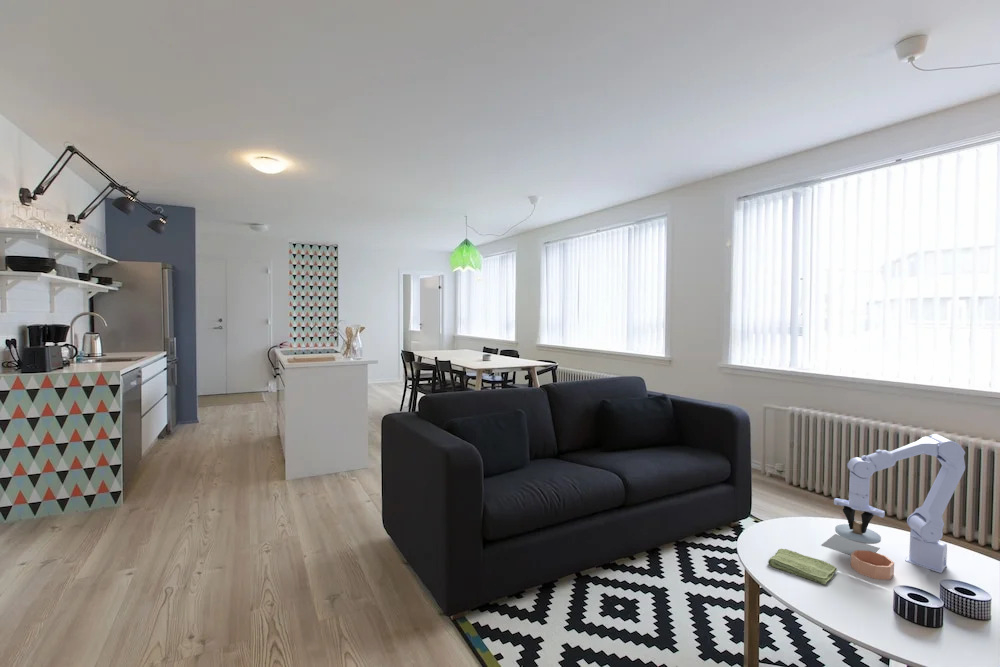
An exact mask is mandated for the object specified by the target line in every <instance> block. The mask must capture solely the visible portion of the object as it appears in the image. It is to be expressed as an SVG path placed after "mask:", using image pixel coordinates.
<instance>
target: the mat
mask: <svg viewBox="0 0 1000 667" xmlns="http://www.w3.org/2000/svg"><path fill="white" fill-rule="evenodd" d="M821 546H822V547H825V548H828V549H831V550H834V551H837V552H839V553H843V554H845V555H849V556H851V554H852V553H853V552H854V551H855V550H867V551H872V552H875V553H877V552H878V551H879V550H880V549H881V548H880V547H878V546H876V545H875V546H874V545H873V544H865V543H859V542H855V541H851V540H849V539H846V538H844V537H842V536H840V535H839V534H837V533H834V534H833V535H832V536H830V537H829V538H828V539H827V540H826V541H824V542H823V543H822V544H821Z"/></svg>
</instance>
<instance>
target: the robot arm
mask: <svg viewBox="0 0 1000 667" xmlns="http://www.w3.org/2000/svg"><path fill="white" fill-rule="evenodd" d="M919 455H920V456H921V455H928V456H932V457H935V458H936V459H937V460H938V461H939V464H941V467H940V469H939V471H938V473H937V475H936V477H935V479H934V481H933V484H932V486H931V488H930V490H929V491H928V493H927V496H926V498H925V499H924V502H923V504H922V505H921V506H920V507H917V508H915V509H914V511H913V512H912V513H911V514H910V515H909V516H908V517H907V519H906V524H907V527H908V528H910V531H909V532H910V534H909V553H908V556H907V557H906V558H905V560H904V561H905V562H907V563H909V564H912V565H916V566H919V567H922V568H925V569H928V570H930V571H934V572H936V573H940V574H942V573H943V571H945V569H946V567H947V566H948V565H947V559H948V545H947V543H945V542H942V541H941V540H942V539H943V535H944V533H943V529H944V526H945V523H944V518H943V515H944V512H946V509H947V507H948V505H949V502H950V501H951V498H952V497H953V494H954V493H955V491H956V489H957V486H958V485H959V483H960V480H961V479H962V477H963V475H964V472H965V470H966V462H965V455H966V451H965V450H964V449H963V447H962V445H961V444H960V443H958V442H957V441H953V440H951V439H948V438H946V437H944V436H943V435H940V434H937V433H934V434H930V435H928V436H923V437H921V438H919V439H918V440H916V441H913V442H910V443H908V444H906V445H903V446H901V447H898V448H896V449H893V450H891V451H889V450H887V449H880V448H879V449H876V450H875V452H873V453H871V454H867V455H864V454H863V455H861V457H858V456H856V457H852V458H851V459H849V460H848V463H846V466H847V469H848V471H849V480H848V481H849V482H848V483H849V484H848V486H849V487H848V488H849V489H848V499H843V498H837V497H836V498H833V505H836V506H841V507H843V509H842V513H843V514H844V515H845V518H846V520H847V524H848V525H849V528H850V529H851V530H852V529H853V521H855V513H856V511H859V512H862V513H861V514H860V516H861V522H862V533H865V532H866V530H867V529H868V527H869V524H870V522H871V521H872V519H873V517H874V516H877V517H879V518H883V519H884V518H885V514H886V511H885V510H883V509H879V508H876V507H874V506H871V505H870V489H871V488H870V487H871V486H870V484H871V480H870V479H871V477H872V476H873V474H874V473H876V472H878V471H879V472H880V471H882V470H886V469H888V468H891V467H895V465H896V463H897V462H898V461H901V460H905V459H910V458H913V457H915V456H919Z"/></svg>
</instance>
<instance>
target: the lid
mask: <svg viewBox="0 0 1000 667" xmlns="http://www.w3.org/2000/svg"><path fill="white" fill-rule="evenodd" d="M834 530H835V534H837V535H840V536H842V537H844V538H846V539H849V540H851V541H855V542H859V543H865V544H868V545H874V544H875V545H877V544H879V543H881V541H882V536H881V535H880V534H879V533H878V532H875V531H874V530H872V529H869V528H867V530H866V532H865V533H862V521H858V520H854V521H853V529H852V530H851V529H850V528H849V523H847V524H845V523H844V524H837V525H836V526H835V528H834Z"/></svg>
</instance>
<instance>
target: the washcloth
mask: <svg viewBox="0 0 1000 667" xmlns="http://www.w3.org/2000/svg"><path fill="white" fill-rule="evenodd" d="M767 564H768V565H769V566H770V567H772V568H774V569H778V570H780V571H783V572H786V573H789V574H792V575H794V576H798V577H802V578H805V579H806V580H807V579H808V580H809V581H813V582H815V583H818V584H821V585H823V586H824V585H827V582H828V581H829V580H831V579H832V578H833V576H834V574H835V572H836V571H837V570H838V568H837V567H836V566H834V565H833V564H830V563H828V562H826V561H824V560H822V559H818V558H815V557H811V556H808V555H804V554H801V553H799V552H796V551H793V550H790V549H786V548H778V550H776V552H775V553H774V555H773V556H771V557H770V558H769V559H768V561H767Z"/></svg>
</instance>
